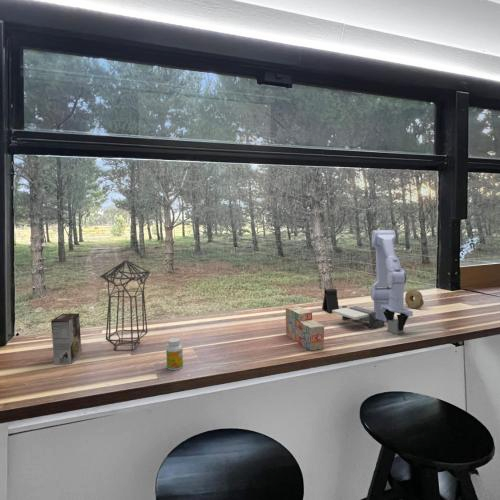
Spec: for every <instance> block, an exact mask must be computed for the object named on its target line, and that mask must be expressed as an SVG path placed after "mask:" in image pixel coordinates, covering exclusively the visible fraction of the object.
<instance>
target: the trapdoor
mask: <svg viewBox="0 0 500 500" xmlns="http://www.w3.org/2000/svg"><path fill="white" fill-rule="evenodd" d="M352 309H353V310H352ZM359 311H360V312H359ZM363 312H364V313H363ZM366 313H367V314H366ZM371 313H373V314H374V320H375V319H376V312H375V311H374V310H370V309H366V308H363V307H360V306H357V305H356V306H351V307H349V308H348V307H347V308H342V307H341V308H339V309H336V310H332V313H331V314H336V315H339V316H345V317H348V318H352V319H351V320H361V319H363V320H362V321H364V320H366V321H365V322H367V321H369V314H371ZM359 318H360V319H359Z"/></svg>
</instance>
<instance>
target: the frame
mask: <svg viewBox="0 0 500 500" xmlns="http://www.w3.org/2000/svg"><path fill="white" fill-rule="evenodd" d="M341 308H348V307H347V305H342V307H341ZM352 310H353V309H352ZM359 312H360V311H359ZM363 313H364V312H363ZM366 314H367V313H366ZM341 316H342V315H341ZM341 320H342V321H348V320H353V319H352V318H348V317H345V316H342V318H341ZM358 320H361V321H363V322H367V323H368V324H369V325H368V328H369V329H370V330H374V329H375V330H376V329H378V328H382V327H385V323H386V321H384V320H380V319H377V318H376V319H375V320H374V314H373V313H371V314H369V321H366V320H363V319H360V318H359V319H358Z"/></svg>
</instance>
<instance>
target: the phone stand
mask: <svg viewBox="0 0 500 500" xmlns="http://www.w3.org/2000/svg"><path fill="white" fill-rule="evenodd" d="M323 293H324V296H323V300H322V307H321V309H322V311H324V312H325V313H328V314H333V313H332V310H336V309H340V307H339V300H338V289H337V288H329V289H324V292H323Z"/></svg>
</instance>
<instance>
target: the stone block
mask: <svg viewBox="0 0 500 500" xmlns="http://www.w3.org/2000/svg"><path fill="white" fill-rule="evenodd" d="M404 328H405V327H404ZM404 328H403V330H402V331H399V329H398V318H395V319H392V320H388V322H387V332H389V333H392V334H395V335H399V334H402V333H404V331H405V330H404Z"/></svg>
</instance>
